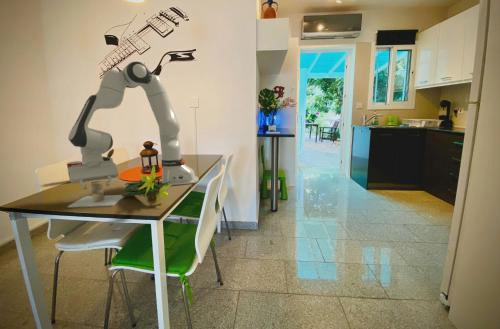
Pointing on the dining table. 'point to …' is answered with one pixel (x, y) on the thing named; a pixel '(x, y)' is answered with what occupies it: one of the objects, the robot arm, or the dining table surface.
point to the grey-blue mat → (88, 202)
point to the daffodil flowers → (147, 186)
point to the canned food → (73, 164)
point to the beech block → (97, 191)
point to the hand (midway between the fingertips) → (96, 186)
